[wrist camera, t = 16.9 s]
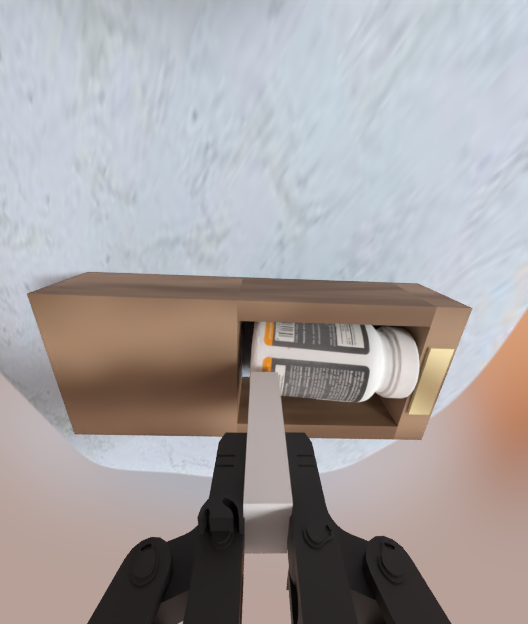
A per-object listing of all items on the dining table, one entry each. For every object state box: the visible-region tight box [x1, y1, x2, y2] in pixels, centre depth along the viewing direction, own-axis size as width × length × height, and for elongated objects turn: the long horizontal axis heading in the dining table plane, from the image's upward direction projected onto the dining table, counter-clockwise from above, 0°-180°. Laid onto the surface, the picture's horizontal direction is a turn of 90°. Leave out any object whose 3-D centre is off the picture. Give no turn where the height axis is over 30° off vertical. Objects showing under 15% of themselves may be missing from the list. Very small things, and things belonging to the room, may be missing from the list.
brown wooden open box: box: [27, 272, 472, 440], centre depth 17 cm, size 10×24×5 cm, turn 88°
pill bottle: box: [250, 321, 420, 403], centre depth 17 cm, size 6×6×10 cm
